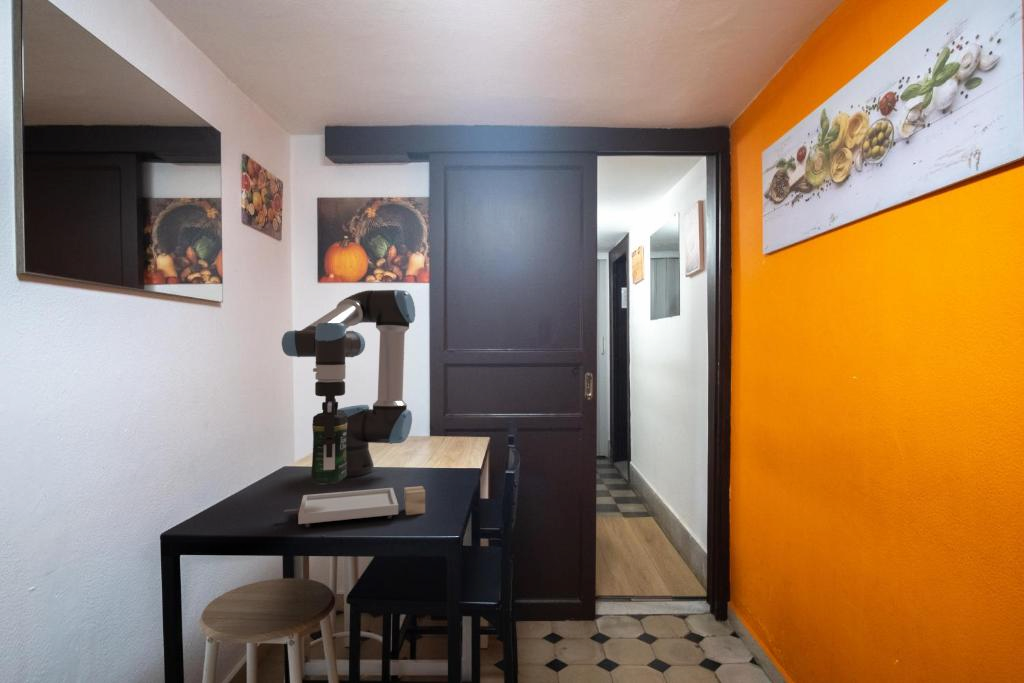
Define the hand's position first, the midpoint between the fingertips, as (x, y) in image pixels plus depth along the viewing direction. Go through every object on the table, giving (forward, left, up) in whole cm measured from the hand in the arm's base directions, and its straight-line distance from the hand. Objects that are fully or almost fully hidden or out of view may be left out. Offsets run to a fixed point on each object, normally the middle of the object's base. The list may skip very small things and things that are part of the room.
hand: (329, 464), depth 134 cm
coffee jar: (0, 0, -4) cm, 4 cm away
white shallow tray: (+1, +3, -14) cm, 14 cm away
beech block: (+3, +22, -14) cm, 26 cm away
